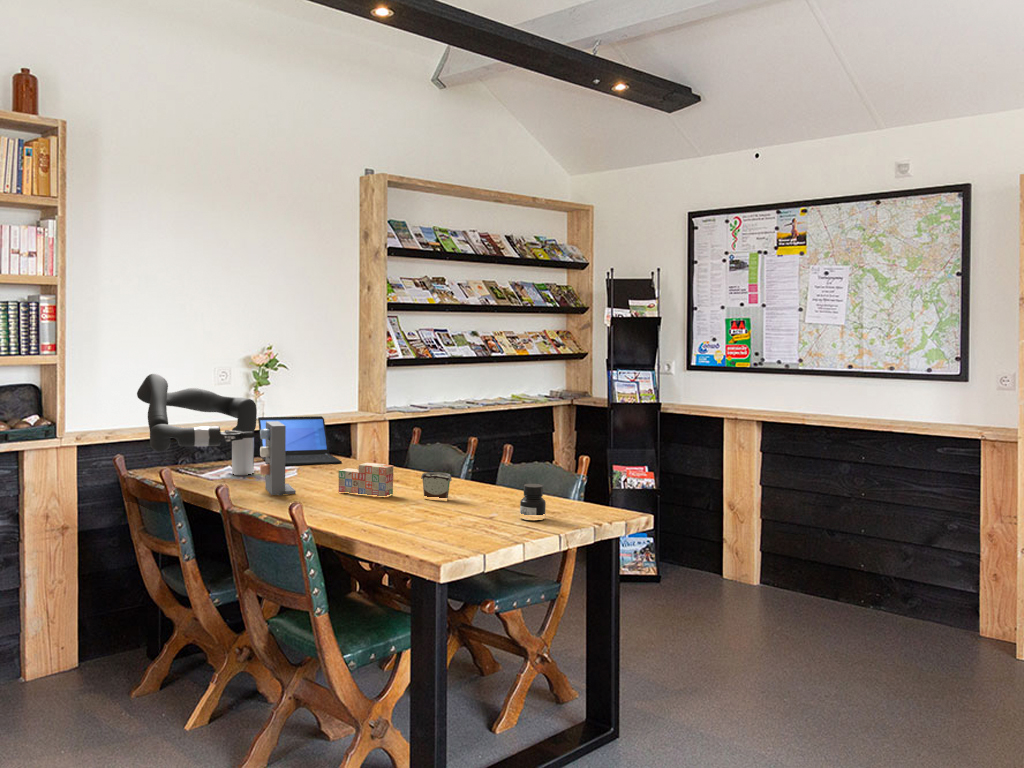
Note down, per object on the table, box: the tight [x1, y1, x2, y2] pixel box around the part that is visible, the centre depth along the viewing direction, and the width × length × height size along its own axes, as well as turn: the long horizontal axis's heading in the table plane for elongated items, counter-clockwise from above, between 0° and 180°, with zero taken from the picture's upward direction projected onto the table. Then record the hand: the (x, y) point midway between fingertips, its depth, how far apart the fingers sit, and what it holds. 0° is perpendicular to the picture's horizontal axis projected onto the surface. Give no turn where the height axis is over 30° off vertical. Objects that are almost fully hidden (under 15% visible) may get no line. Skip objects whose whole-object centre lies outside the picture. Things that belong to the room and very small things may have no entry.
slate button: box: [259, 429, 270, 439], centre depth 346 cm, size 4×4×4 cm
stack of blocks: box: [338, 462, 394, 496], centre depth 348 cm, size 21×6×12 cm, turn 68°
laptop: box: [257, 415, 342, 466], centre depth 429 cm, size 33×38×19 cm
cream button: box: [259, 446, 270, 458], centre depth 347 cm, size 4×4×4 cm
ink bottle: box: [519, 483, 547, 515], centre depth 311 cm, size 10×9×12 cm
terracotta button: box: [259, 463, 270, 476], centre depth 347 cm, size 4×4×4 cm
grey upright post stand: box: [264, 421, 297, 496], centre depth 349 cm, size 16×9×27 cm, turn 24°
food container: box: [420, 471, 453, 499], centre depth 342 cm, size 12×6×10 cm, turn 71°
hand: (253, 434), depth 344 cm, fingers closed
